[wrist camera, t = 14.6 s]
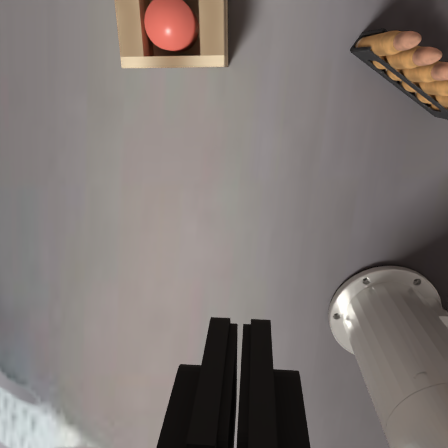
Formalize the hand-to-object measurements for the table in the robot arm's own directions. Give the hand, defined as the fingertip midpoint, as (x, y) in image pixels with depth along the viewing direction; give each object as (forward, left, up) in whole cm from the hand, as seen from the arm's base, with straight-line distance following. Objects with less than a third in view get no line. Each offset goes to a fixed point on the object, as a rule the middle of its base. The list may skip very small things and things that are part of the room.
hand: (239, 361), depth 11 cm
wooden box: (+6, -11, -30) cm, 32 cm away
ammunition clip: (-14, -7, -30) cm, 34 cm away
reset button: (+6, -11, -26) cm, 29 cm away
